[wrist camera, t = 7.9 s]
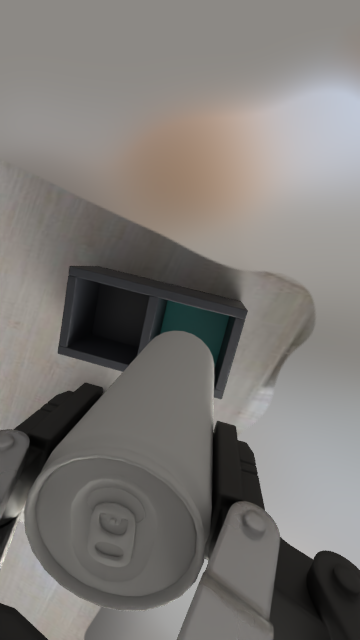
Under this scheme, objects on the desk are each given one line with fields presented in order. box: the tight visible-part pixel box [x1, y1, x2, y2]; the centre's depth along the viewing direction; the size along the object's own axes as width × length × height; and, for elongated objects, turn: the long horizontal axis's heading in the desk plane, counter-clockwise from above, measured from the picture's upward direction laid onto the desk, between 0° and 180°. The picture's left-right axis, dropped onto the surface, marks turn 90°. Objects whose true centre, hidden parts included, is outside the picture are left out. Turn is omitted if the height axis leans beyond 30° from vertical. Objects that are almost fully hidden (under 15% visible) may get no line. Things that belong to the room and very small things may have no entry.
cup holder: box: [58, 266, 248, 399], centre depth 26 cm, size 8×15×6 cm, turn 77°
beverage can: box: [24, 331, 214, 611], centre depth 12 cm, size 5×5×12 cm
